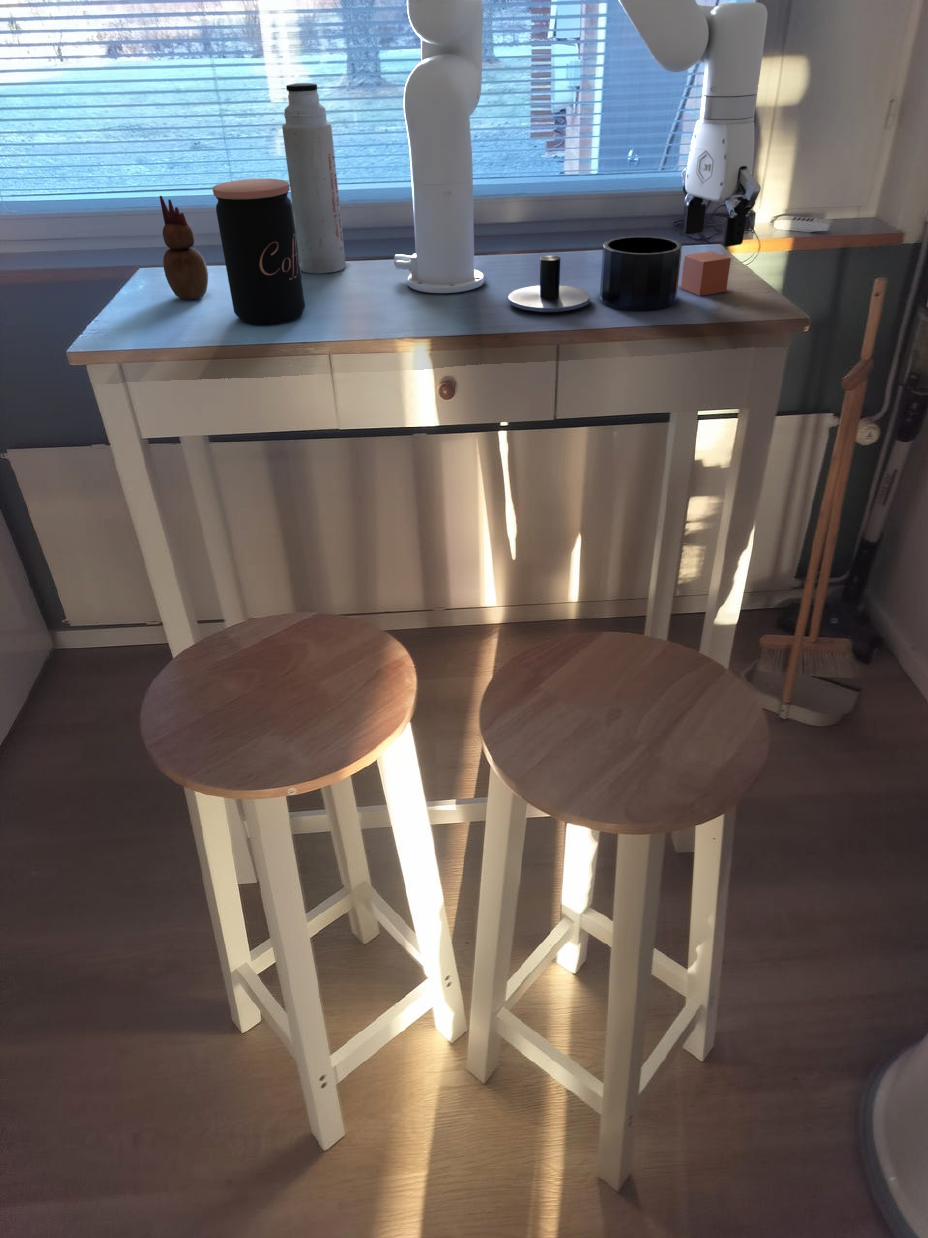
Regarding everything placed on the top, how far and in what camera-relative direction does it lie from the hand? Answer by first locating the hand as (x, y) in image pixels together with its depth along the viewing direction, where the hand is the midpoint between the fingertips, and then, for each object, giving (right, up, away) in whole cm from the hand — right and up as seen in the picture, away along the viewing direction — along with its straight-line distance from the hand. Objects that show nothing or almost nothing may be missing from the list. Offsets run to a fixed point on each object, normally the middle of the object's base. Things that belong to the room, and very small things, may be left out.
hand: (712, 238), depth 133 cm
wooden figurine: (-82, -6, +9) cm, 83 cm away
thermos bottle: (-63, +4, +22) cm, 67 cm away
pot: (-11, -9, +1) cm, 14 cm away
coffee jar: (-67, -12, -1) cm, 68 cm away
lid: (-25, -9, 0) cm, 27 cm away
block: (0, -6, +5) cm, 8 cm away
